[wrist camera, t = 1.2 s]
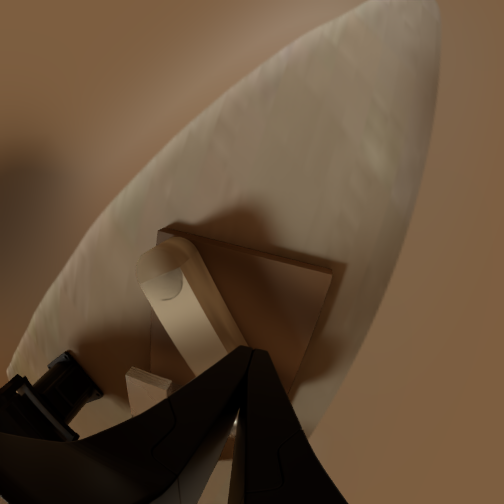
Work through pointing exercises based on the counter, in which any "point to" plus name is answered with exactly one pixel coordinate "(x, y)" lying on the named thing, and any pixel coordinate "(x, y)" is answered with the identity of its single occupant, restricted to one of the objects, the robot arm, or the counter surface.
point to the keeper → (150, 391)
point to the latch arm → (188, 303)
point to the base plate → (252, 305)
